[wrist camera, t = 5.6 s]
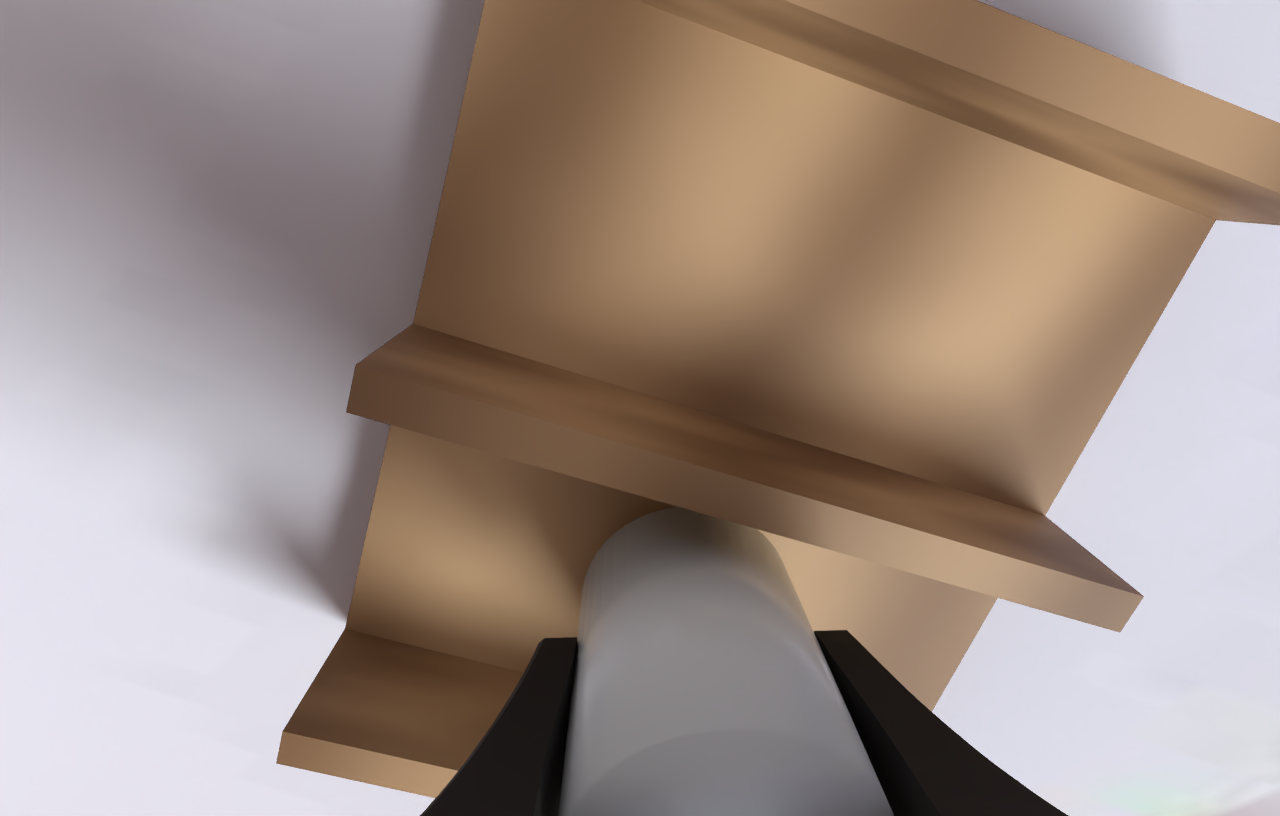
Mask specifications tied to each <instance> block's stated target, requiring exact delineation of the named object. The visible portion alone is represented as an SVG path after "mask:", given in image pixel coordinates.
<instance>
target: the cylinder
mask: <svg viewBox="0 0 1280 816" xmlns="http://www.w3.org/2000/svg"><path fill="white" fill-rule="evenodd" d="M558 816H894V814H893V812H892V810H891V807H890V805H889V803H888V800H887V798H886V796H885V794H884V791H883V789H882V787H881V784H880V782H879V780H878V778H877V775H876V773H875V771H874V768H873V766H872V764H871V762H870V759H869V757H868V755H867V753H866V750H865V748H864V746H863V743H862V741H861V739H860V737H859V734H858V732H857V730H856V727H855V725H854V723H853V721H852V718H851V716H850V714H849V711H848V709H847V707H846V705H845V702H844V700H843V698H842V695H841V693H840V691H839V689H838V686H837V684H836V682H835V680H834V677H833V675H832V673H831V670H830V668H829V666H828V664H827V661H826V659H825V657H824V654H823V652H822V650H821V648H820V645H819V643H818V641H817V638H816V636H815V634H814V632H813V629H812V627H811V625H810V623H809V620H808V618H807V616H806V613H805V611H804V609H803V607H802V604H801V602H800V600H799V597H798V595H797V593H796V591H795V588H794V586H793V584H792V581H791V579H790V577H789V575H788V572H787V570H786V568H785V565H784V563H783V561H782V559H781V557H780V555H779V553H778V552H777V550H776V549H775V547H774V546H773V545H772V543H771V542H770V541H769V540H768V539H767V538H766V537H765V536H764V535H763V534H762V533H761V532H760V531H759V530H758V529H755V528H751V527H748V526H744V525H741V524H737V523H734V522H730V521H727V520H723V519H720V518H716V517H713V516H709V515H706V514H702V513H699V512H695V511H691V510H688V509H684V508H681V507H675V508H669V509H663V510H660V511H656V512H652V513H649V514H647V515H645V516H642V517H640V518H637V519H636V520H634V521H632V522H630V523H628V524H627V525H625V526H624V527H622V528H621V529H620V530H618V531H617V532H616V533H614V534H613V535H612V536H611V537H610V538H609V539H608V540H607V541H606V542H605V543H604V544H603V546H602V547H601V548H600V549H599V551H598V552H597V553H596V555H595V557H594V558H593V560H592V562H591V564H590V566H589V568H588V571H587V573H586V576H585V580H584V584H583V588H582V598H581V607H580V617H579V626H578V635H577V652H576V661H575V671H574V680H573V687H572V694H571V701H570V711H569V720H568V730H567V739H566V748H565V758H564V767H563V777H562V786H561V795H560V805H559V814H558Z"/></svg>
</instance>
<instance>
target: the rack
mask: <svg viewBox="0 0 1280 816" xmlns="http://www.w3.org/2000/svg"><path fill="white" fill-rule="evenodd" d="M1216 220H1222V221H1234V222H1246V223H1259V224H1271V225H1280V123H1278V122H1275V121H1273V120H1270V119H1268V118H1266V117H1263V116H1261V115H1258V114H1256V113H1253V112H1251V111H1248V110H1246V109H1243V108H1241V107H1238V106H1236V105H1233V104H1231V103H1229V102H1226V101H1224V100H1221V99H1219V98H1216V97H1214V96H1211V95H1209V94H1206V93H1204V92H1201V91H1199V90H1196V89H1194V88H1192V87H1189V86H1187V85H1184V84H1182V83H1179V82H1177V81H1174V80H1172V79H1169V78H1167V77H1164V76H1162V75H1159V74H1157V73H1155V72H1152V71H1150V70H1147V69H1145V68H1142V67H1140V66H1137V65H1135V64H1132V63H1130V62H1127V61H1125V60H1122V59H1120V58H1117V57H1115V56H1113V55H1110V54H1108V53H1105V52H1103V51H1100V50H1098V49H1095V48H1093V47H1090V46H1088V45H1085V44H1083V43H1080V42H1078V41H1076V40H1073V39H1071V38H1068V37H1066V36H1063V35H1061V34H1058V33H1056V32H1053V31H1051V30H1048V29H1046V28H1043V27H1041V26H1039V25H1036V24H1034V23H1031V22H1029V21H1026V20H1024V19H1021V18H1019V17H1016V16H1014V15H1011V14H1009V13H1006V12H1004V11H1002V10H999V9H997V8H994V7H992V6H989V5H987V4H984V3H982V2H979V1H977V0H485V3H484V7H483V12H482V16H481V21H480V25H479V30H478V34H477V39H476V43H475V48H474V52H473V57H472V61H471V66H470V70H469V75H468V79H467V84H466V88H465V93H464V97H463V101H462V106H461V110H460V115H459V119H458V124H457V128H456V133H455V137H454V142H453V146H452V151H451V155H450V160H449V164H448V169H447V173H446V178H445V182H444V187H443V191H442V196H441V200H440V205H439V209H438V214H437V218H436V223H435V227H434V232H433V236H432V241H431V245H430V250H429V254H428V259H427V263H426V268H425V272H424V277H423V281H422V286H421V290H420V295H419V299H418V304H417V308H416V313H415V317H414V322H413V324H412V325H410V326H409V327H408V328H406V329H405V330H404V331H402V332H401V333H399V334H398V335H397V336H395V337H394V338H392V339H391V340H390V341H388V342H387V343H386V344H384V345H383V346H381V347H380V348H379V349H377V350H376V351H374V352H373V353H372V354H370V355H369V356H368V357H366V358H365V359H363V360H362V361H361V362H359V363H358V364H356V366H355V371H354V376H353V381H352V386H351V391H350V396H349V401H348V406H347V411H346V412H347V413H351V414H354V415H358V416H361V417H365V418H368V419H372V420H375V421H379V422H382V423H386V424H389V425H390V429H389V434H388V438H387V443H386V447H385V452H384V456H383V461H382V465H381V470H380V474H379V479H378V483H377V488H376V492H375V497H374V501H373V506H372V510H371V515H370V519H369V524H368V528H367V533H366V537H365V542H364V546H363V551H362V555H361V560H360V564H359V569H358V573H357V578H356V582H355V587H354V591H353V595H352V600H351V604H350V609H349V613H348V618H347V622H346V627H345V630H344V631H343V633H342V635H341V636H340V638H339V640H338V641H337V643H336V645H335V646H334V648H333V650H332V651H331V653H330V654H329V656H328V658H327V659H326V661H325V663H324V664H323V666H322V668H321V669H320V671H319V673H318V674H317V676H316V677H315V679H314V681H313V682H312V684H311V686H310V687H309V689H308V691H307V692H306V694H305V696H304V697H303V699H302V700H301V702H300V704H299V705H298V707H297V709H296V710H295V712H294V714H293V715H292V717H291V719H290V720H289V722H288V723H287V725H286V727H285V728H284V730H283V732H282V737H281V742H280V747H279V752H278V757H277V762H276V763H277V764H282V765H286V766H291V767H295V768H300V769H305V770H309V771H314V772H318V773H323V774H328V775H332V776H337V777H341V778H346V779H350V780H355V781H360V782H364V783H369V784H373V785H378V786H383V787H387V788H392V789H396V790H401V791H405V792H410V793H415V794H419V795H424V796H428V797H433V798H436V797H437V796H438V795H439V794H440V792H441V791H442V790H443V789H444V788H445V787H446V785H447V784H448V783H449V782H450V781H451V779H452V778H453V777H454V776H455V774H456V773H457V772H458V770H459V769H460V768H461V767H462V765H463V764H464V763H465V761H466V760H467V759H468V757H469V756H470V755H471V753H472V752H473V750H474V749H475V748H476V746H477V745H478V743H479V742H480V741H481V739H482V738H483V737H484V735H485V734H486V732H487V731H488V730H489V728H490V727H491V725H492V724H493V722H494V721H495V719H496V718H497V716H498V714H499V713H500V711H501V710H502V708H503V707H504V705H505V703H506V702H507V700H508V699H509V697H510V696H511V694H512V692H513V691H514V689H515V687H516V686H517V684H518V682H519V680H520V679H521V677H522V675H523V673H524V671H525V670H526V668H527V666H528V664H529V662H530V660H531V658H532V656H533V654H534V652H535V650H536V648H537V645H538V643H539V642H540V641H542V640H543V639H544V638H563V637H577V635H578V626H579V617H580V607H581V598H582V588H583V584H584V580H585V576H586V573H587V571H588V568H589V566H590V564H591V562H592V560H593V558H594V557H595V555H596V553H597V552H598V551H599V549H600V548H601V547H602V546H603V544H604V543H605V542H606V541H607V540H608V539H609V538H610V537H611V536H612V535H613V534H614V533H616V532H617V531H618V530H620V529H621V528H622V527H624V526H625V525H627V524H628V523H630V522H632V521H634V520H636V519H637V518H640V517H642V516H645V515H647V514H649V513H652V512H656V511H660V510H663V509H669V508H675V507H681V508H684V509H688V510H691V511H695V512H699V513H702V514H706V515H709V516H713V517H716V518H720V519H723V520H727V521H730V522H734V523H737V524H741V525H744V526H748V527H751V528H755V529H758V530H759V531H760V532H761V533H762V534H763V535H764V536H765V537H766V538H767V539H768V540H769V541H770V542H771V543H772V545H773V546H774V547H775V549H776V550H777V552H778V553H779V555H780V557H781V559H782V561H783V563H784V565H785V568H786V570H787V572H788V575H789V577H790V579H791V581H792V584H793V586H794V588H795V591H796V593H797V595H798V597H799V600H800V602H801V604H802V607H803V609H804V611H805V613H806V616H807V618H808V620H809V623H810V625H811V627H812V629H813V632H814V631H827V630H847V631H848V632H849V633H850V634H851V635H852V636H854V637H855V638H856V639H857V640H858V641H859V642H860V643H861V644H862V645H863V646H864V647H865V648H866V649H867V650H868V651H869V652H870V653H871V654H872V655H873V656H874V657H875V658H876V659H877V660H878V661H879V662H880V663H881V664H882V665H883V666H884V667H885V668H886V669H887V670H888V671H889V672H890V673H891V674H892V675H893V676H894V677H895V678H896V679H897V680H898V681H899V682H900V683H901V684H902V685H903V686H904V687H905V688H906V689H907V690H908V691H909V692H910V693H912V694H913V695H914V696H915V697H916V698H917V699H918V700H919V701H920V702H921V703H922V704H923V705H925V706H926V707H927V708H928V709H929V710H930V711H931V712H932V710H933V709H934V707H935V705H936V703H937V702H938V700H939V698H940V696H941V695H942V693H943V691H944V689H945V688H946V686H947V684H948V683H949V681H950V679H951V677H952V676H953V674H954V672H955V670H956V669H957V667H958V665H959V664H960V662H961V660H962V658H963V657H964V655H965V653H966V651H967V650H968V648H969V646H970V645H971V643H972V641H973V639H974V638H975V636H976V634H977V632H978V631H979V629H980V627H981V626H982V624H983V622H984V620H985V619H986V617H987V615H988V613H989V612H990V610H991V608H992V607H993V605H994V603H995V601H996V600H997V598H1001V599H1004V600H1008V601H1011V602H1015V603H1018V604H1022V605H1025V606H1029V607H1032V608H1036V609H1039V610H1043V611H1046V612H1050V613H1053V614H1057V615H1061V616H1064V617H1068V618H1071V619H1075V620H1078V621H1082V622H1085V623H1089V624H1092V625H1096V626H1099V627H1103V628H1106V629H1110V630H1113V631H1117V632H1121V630H1122V629H1123V627H1124V626H1125V624H1126V623H1127V621H1128V620H1129V618H1130V617H1131V615H1132V614H1133V612H1134V611H1135V609H1136V608H1137V606H1138V605H1139V603H1140V602H1141V600H1142V599H1143V597H1144V596H1143V595H1141V594H1140V593H1139V592H1138V591H1136V590H1135V589H1134V588H1133V587H1132V586H1130V585H1129V584H1128V583H1127V582H1125V581H1124V580H1123V579H1122V578H1120V577H1119V576H1118V575H1117V574H1116V573H1114V572H1113V571H1112V570H1111V569H1109V568H1108V567H1107V566H1106V565H1105V564H1103V563H1102V562H1101V561H1100V560H1098V559H1097V558H1096V557H1095V556H1093V555H1092V554H1091V553H1090V552H1089V551H1087V550H1086V549H1085V548H1084V547H1082V546H1081V545H1080V544H1079V543H1078V542H1076V541H1075V540H1074V539H1073V538H1071V537H1070V536H1069V535H1068V534H1066V533H1065V532H1064V531H1063V530H1062V529H1060V528H1059V527H1058V526H1057V525H1055V524H1054V523H1053V522H1052V521H1051V520H1049V519H1048V518H1047V517H1046V516H1045V515H1046V513H1047V511H1048V510H1049V508H1050V506H1051V505H1052V503H1053V501H1054V499H1055V498H1056V496H1057V494H1058V492H1059V491H1060V489H1061V487H1062V485H1063V484H1064V482H1065V480H1066V479H1067V477H1068V475H1069V473H1070V472H1071V470H1072V468H1073V466H1074V465H1075V463H1076V461H1077V460H1078V458H1079V456H1080V454H1081V453H1082V451H1083V449H1084V447H1085V446H1086V444H1087V442H1088V441H1089V439H1090V437H1091V435H1092V434H1093V432H1094V430H1095V428H1096V427H1097V425H1098V423H1099V422H1100V420H1101V418H1102V416H1103V415H1104V413H1105V411H1106V409H1107V408H1108V406H1109V404H1110V403H1111V401H1112V399H1113V397H1114V396H1115V394H1116V392H1117V390H1118V389H1119V387H1120V385H1121V383H1122V382H1123V380H1124V378H1125V377H1126V375H1127V373H1128V371H1129V370H1130V368H1131V366H1132V364H1133V363H1134V361H1135V359H1136V358H1137V356H1138V354H1139V352H1140V351H1141V349H1142V347H1143V345H1144V344H1145V342H1146V340H1147V339H1148V337H1149V335H1150V333H1151V332H1152V330H1153V328H1154V326H1155V325H1156V323H1157V321H1158V320H1159V318H1160V316H1161V314H1162V313H1163V311H1164V309H1165V307H1166V306H1167V304H1168V302H1169V301H1170V299H1171V297H1172V295H1173V294H1174V292H1175V290H1176V288H1177V287H1178V285H1179V283H1180V281H1181V280H1182V278H1183V276H1184V275H1185V273H1186V271H1187V269H1188V268H1189V266H1190V264H1191V262H1192V261H1193V259H1194V257H1195V256H1196V254H1197V252H1198V250H1199V249H1200V247H1201V245H1202V243H1203V242H1204V240H1205V238H1206V237H1207V235H1208V233H1209V231H1210V230H1211V228H1212V226H1213V224H1214V223H1215V221H1216Z"/></svg>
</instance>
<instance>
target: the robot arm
mask: <svg viewBox="0 0 1280 816" xmlns="http://www.w3.org/2000/svg"><path fill="white" fill-rule="evenodd" d="M814 634H815V636H816V638H817V641H818V643H819V645H820V648H821V650H822V652H823V654H824V657H825V659H826V661H827V664H828V666H829V668H830V670H831V673H832V675H833V677H834V680H835V682H836V684H837V686H838V689H839V691H840V693H841V695H842V698H843V700H844V702H845V705H846V707H847V709H848V711H849V714H850V716H851V718H852V721H853V723H854V725H855V727H856V730H857V732H858V734H859V737H860V739H861V741H862V743H863V746H864V748H865V750H866V753H867V755H868V757H869V759H870V762H871V764H872V766H873V768H874V771H875V773H876V775H877V778H878V780H879V782H880V784H881V787H882V789H883V791H884V794H885V796H886V798H887V800H888V803H889V805H890V807H891V810H892V812H893V814H894V816H1068V815H1066V814H1065V813H1063V812H1062V811H1060V810H1059V809H1057V808H1055V807H1054V806H1052V805H1051V804H1050V803H1048V802H1047V801H1045V800H1044V799H1042V798H1041V797H1039V796H1038V795H1036V794H1035V793H1033V792H1032V791H1031V790H1029V789H1028V788H1026V787H1025V786H1024V785H1022V784H1021V783H1020V782H1018V781H1017V780H1015V779H1014V778H1013V777H1011V776H1010V775H1009V774H1007V773H1006V772H1004V771H1003V770H1002V769H1000V768H999V767H998V766H996V765H995V764H994V763H992V762H991V761H990V760H988V759H987V758H986V757H985V756H983V755H982V754H981V753H979V752H978V751H977V750H976V749H975V748H973V747H972V746H971V745H970V744H969V743H967V742H966V741H965V740H964V739H963V738H961V737H960V736H959V735H958V734H957V733H955V732H954V731H953V730H952V729H951V728H949V727H948V726H947V725H946V724H945V723H944V722H942V721H941V720H940V719H939V718H938V717H937V716H936V715H934V714H933V713H932V712H931V711H930V710H929V709H928V708H927V707H926V706H925V705H923V704H922V703H921V702H920V701H919V700H918V699H917V698H916V697H915V696H914V695H913V694H912V693H910V692H909V691H908V690H907V689H906V688H905V687H904V686H903V685H902V684H901V683H900V682H899V681H898V680H897V679H896V678H895V677H894V676H893V675H892V674H891V673H890V672H889V671H888V670H887V669H886V668H885V667H884V666H883V665H882V664H881V663H880V662H879V661H878V660H877V659H876V658H875V657H874V656H873V655H872V654H871V653H870V652H869V651H868V650H867V649H866V648H865V647H864V646H863V645H862V644H861V643H860V642H859V641H858V640H857V639H856V638H855V637H854V636H852V635H851V634H850V633H849V632H848V631H847V630H827V631H814ZM576 652H577V637H563V638H544V639H543V640H542V641H540V642H539V643H538V645H537V648H536V650H535V652H534V654H533V656H532V658H531V660H530V662H529V664H528V666H527V668H526V670H525V671H524V673H523V675H522V677H521V679H520V680H519V682H518V684H517V686H516V687H515V689H514V691H513V692H512V694H511V696H510V697H509V699H508V700H507V702H506V703H505V705H504V707H503V708H502V710H501V711H500V713H499V714H498V716H497V718H496V719H495V721H494V722H493V724H492V725H491V727H490V728H489V730H488V731H487V732H486V734H485V735H484V737H483V738H482V739H481V741H480V742H479V743H478V745H477V746H476V748H475V749H474V750H473V752H472V753H471V755H470V756H469V757H468V759H467V760H466V761H465V763H464V764H463V765H462V767H461V768H460V769H459V770H458V772H457V773H456V774H455V776H454V777H453V778H452V779H451V781H450V782H449V783H448V784H447V785H446V787H445V788H444V789H443V790H442V791H441V792H440V794H439V795H438V796H437V797H436V798H435V800H434V801H433V802H432V803H431V804H430V805H429V806H428V808H427V809H426V810H425V811H424V812H423V813H422V814H421V815H420V816H558V814H559V805H560V795H561V786H562V777H563V767H564V758H565V748H566V739H567V730H568V720H569V711H570V701H571V694H572V687H573V680H574V671H575V661H576Z"/></svg>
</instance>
